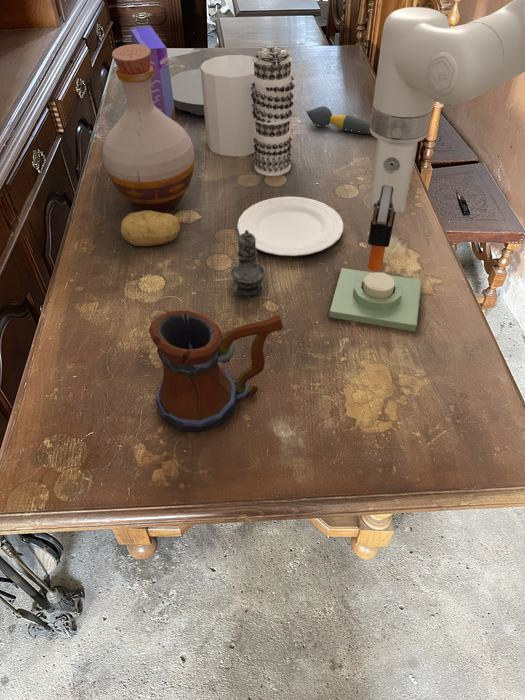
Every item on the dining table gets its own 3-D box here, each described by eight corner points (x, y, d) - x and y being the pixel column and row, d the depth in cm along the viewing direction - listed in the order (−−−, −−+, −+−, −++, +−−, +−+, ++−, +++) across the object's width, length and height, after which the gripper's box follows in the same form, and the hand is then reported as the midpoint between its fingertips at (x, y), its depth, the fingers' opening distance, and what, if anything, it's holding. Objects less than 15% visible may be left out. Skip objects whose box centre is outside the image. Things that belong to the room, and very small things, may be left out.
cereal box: (180, 156, 131) (166, 46, 113) (161, 159, 130) (143, 49, 112) (165, 127, 142) (150, 24, 125) (147, 130, 141) (129, 26, 124)
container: (275, 137, 137) (275, 60, 124) (246, 161, 128) (243, 81, 115) (227, 126, 142) (222, 51, 129) (196, 148, 133) (187, 70, 120)
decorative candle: (298, 162, 127) (302, 45, 109) (281, 180, 122) (283, 60, 104) (264, 154, 130) (262, 40, 112) (246, 171, 125) (241, 53, 107)
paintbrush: (380, 129, 139) (383, 110, 135) (377, 138, 136) (380, 118, 132) (306, 120, 144) (307, 101, 140) (301, 128, 141) (302, 108, 137)
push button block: (420, 286, 95) (423, 272, 93) (415, 331, 87) (418, 318, 85) (340, 274, 98) (342, 260, 95) (328, 317, 90) (330, 303, 87)
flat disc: (273, 115, 146) (273, 98, 143) (170, 127, 142) (168, 109, 139) (251, 78, 165) (251, 63, 162) (160, 88, 161) (157, 72, 158)
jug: (121, 181, 122) (88, 33, 101) (200, 177, 123) (184, 29, 102) (110, 230, 109) (70, 70, 87) (199, 225, 109) (181, 66, 88)
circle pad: (394, 282, 92) (396, 274, 90) (391, 301, 88) (393, 293, 87) (364, 278, 93) (366, 270, 91) (360, 296, 89) (362, 288, 88)
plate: (334, 269, 98) (335, 261, 97) (225, 255, 102) (224, 247, 101) (349, 210, 113) (349, 201, 111) (252, 199, 116) (251, 191, 115)
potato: (126, 234, 108) (120, 206, 103) (182, 231, 108) (178, 203, 103) (122, 253, 103) (116, 225, 98) (181, 250, 103) (177, 222, 99)
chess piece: (229, 297, 93) (225, 239, 85) (235, 276, 97) (231, 218, 89) (263, 300, 93) (262, 241, 84) (267, 279, 97) (267, 221, 88)
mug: (274, 361, 83) (274, 285, 72) (289, 421, 75) (292, 345, 64) (156, 377, 81) (138, 300, 70) (158, 440, 73) (138, 365, 62)
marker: (382, 264, 88) (393, 204, 80) (381, 272, 87) (391, 212, 79) (368, 262, 89) (377, 202, 81) (366, 270, 87) (375, 210, 79)
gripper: (425, 151, 64) (399, 274, 78) (432, 99, 75) (408, 215, 88) (362, 144, 66) (347, 266, 79) (378, 94, 77) (362, 209, 90)
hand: (379, 238), depth 84 cm, fingers closed on marker, 2 cm apart
